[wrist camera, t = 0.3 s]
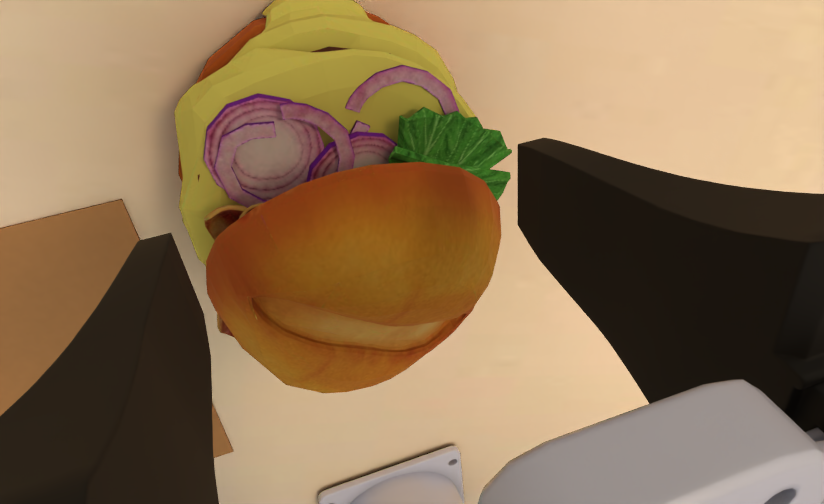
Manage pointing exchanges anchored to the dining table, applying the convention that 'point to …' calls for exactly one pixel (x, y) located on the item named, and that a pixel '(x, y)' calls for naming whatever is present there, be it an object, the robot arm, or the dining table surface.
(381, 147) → the cheeseburger
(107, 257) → the placemat
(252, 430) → the dining table surface
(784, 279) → the robot arm
